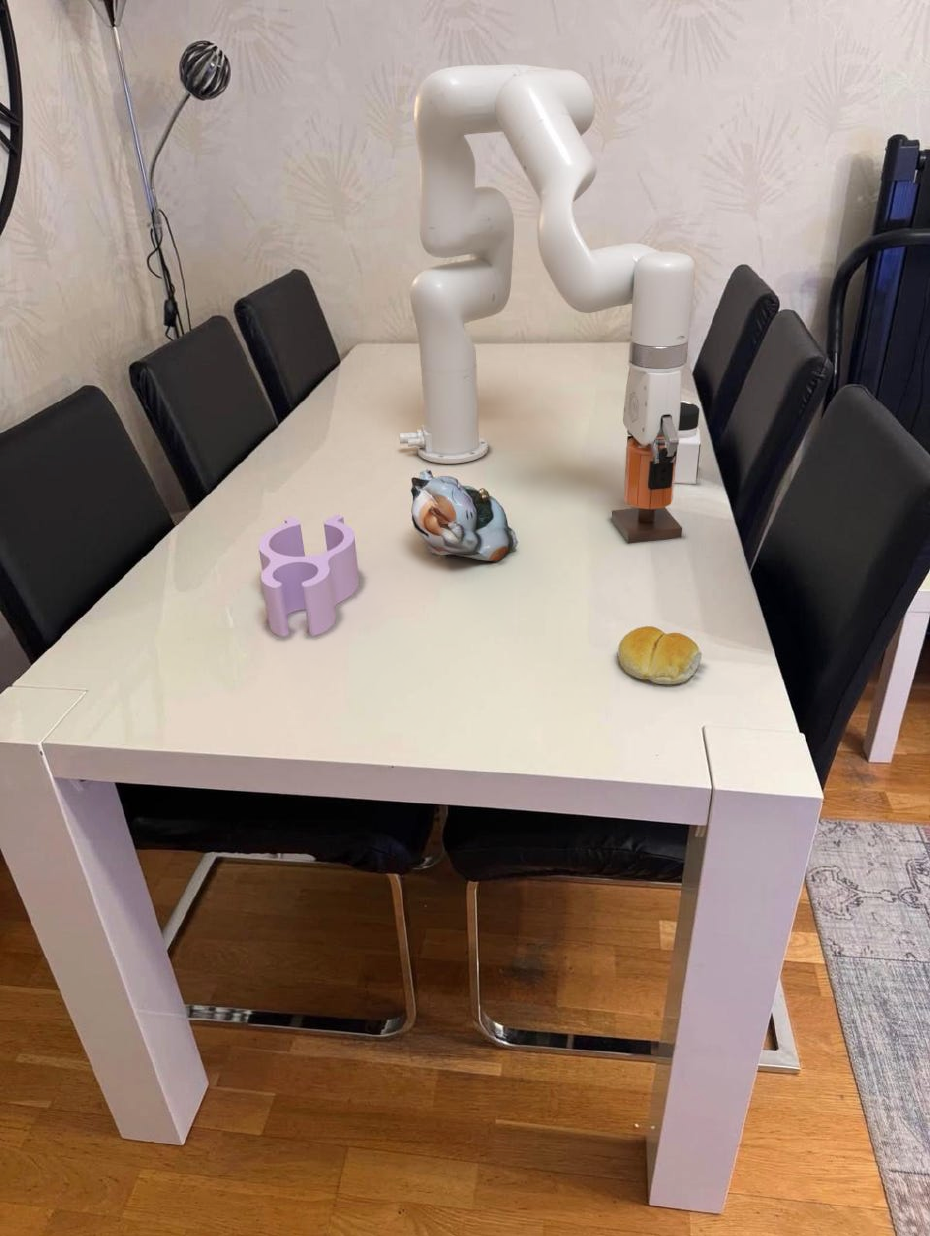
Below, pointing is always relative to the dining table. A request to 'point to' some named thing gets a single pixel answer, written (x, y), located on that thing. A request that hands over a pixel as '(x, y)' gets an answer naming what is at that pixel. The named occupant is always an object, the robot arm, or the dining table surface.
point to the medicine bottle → (688, 444)
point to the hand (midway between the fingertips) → (647, 474)
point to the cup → (643, 478)
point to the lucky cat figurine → (460, 519)
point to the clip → (307, 574)
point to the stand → (646, 524)
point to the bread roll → (659, 655)
